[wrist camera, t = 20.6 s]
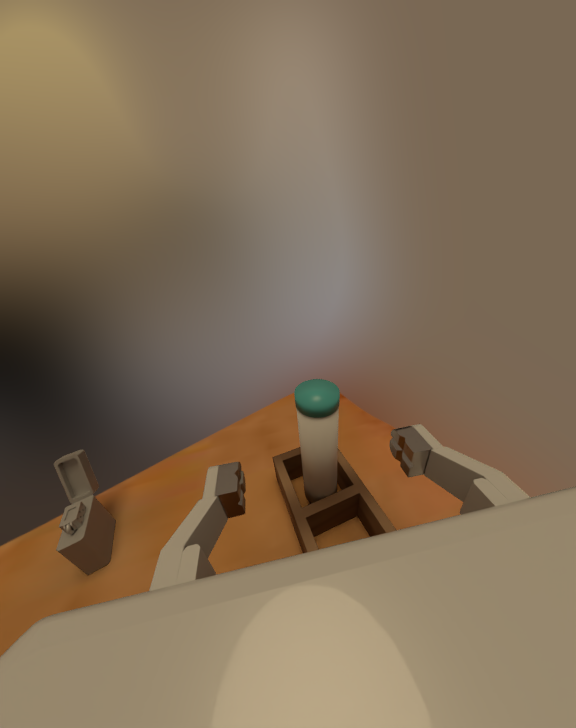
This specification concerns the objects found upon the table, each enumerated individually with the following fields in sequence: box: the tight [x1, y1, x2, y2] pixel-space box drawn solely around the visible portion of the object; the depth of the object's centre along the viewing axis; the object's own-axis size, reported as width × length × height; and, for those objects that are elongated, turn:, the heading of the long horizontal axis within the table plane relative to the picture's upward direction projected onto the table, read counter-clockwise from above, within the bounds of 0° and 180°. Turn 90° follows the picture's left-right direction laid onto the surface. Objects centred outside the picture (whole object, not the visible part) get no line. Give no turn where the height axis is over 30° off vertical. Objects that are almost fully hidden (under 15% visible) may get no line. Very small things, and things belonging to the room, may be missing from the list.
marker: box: [295, 379, 339, 504], centre depth 19 cm, size 3×3×14 cm
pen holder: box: [273, 447, 396, 553], centre depth 20 cm, size 12×7×4 cm, turn 20°
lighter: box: [54, 450, 116, 575], centre depth 20 cm, size 7×2×8 cm, turn 28°
